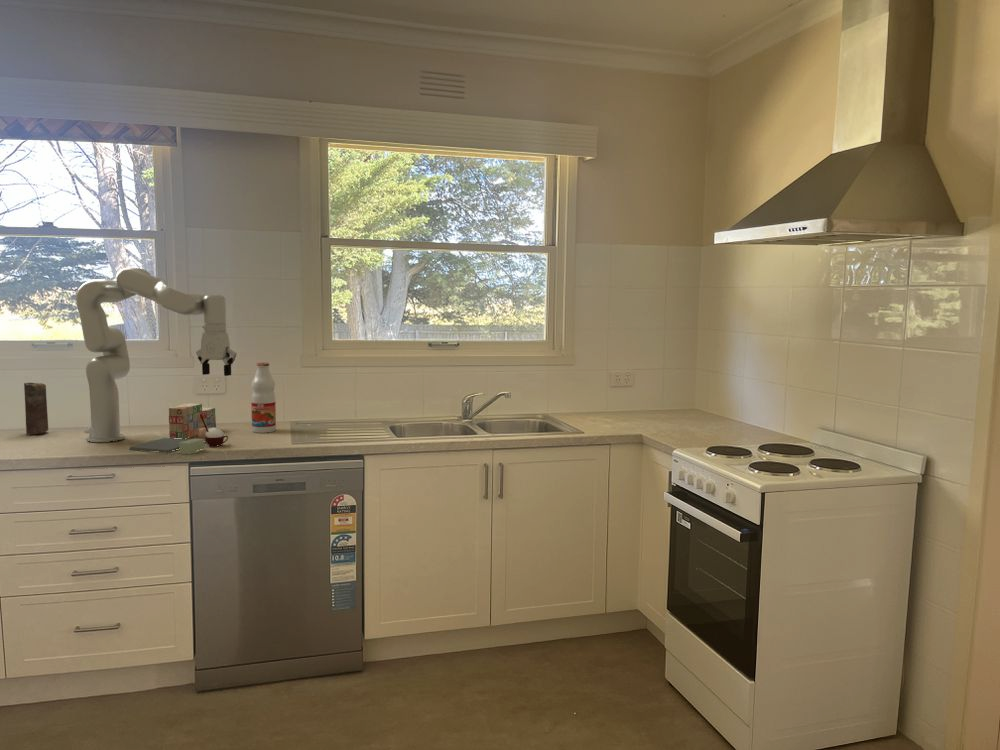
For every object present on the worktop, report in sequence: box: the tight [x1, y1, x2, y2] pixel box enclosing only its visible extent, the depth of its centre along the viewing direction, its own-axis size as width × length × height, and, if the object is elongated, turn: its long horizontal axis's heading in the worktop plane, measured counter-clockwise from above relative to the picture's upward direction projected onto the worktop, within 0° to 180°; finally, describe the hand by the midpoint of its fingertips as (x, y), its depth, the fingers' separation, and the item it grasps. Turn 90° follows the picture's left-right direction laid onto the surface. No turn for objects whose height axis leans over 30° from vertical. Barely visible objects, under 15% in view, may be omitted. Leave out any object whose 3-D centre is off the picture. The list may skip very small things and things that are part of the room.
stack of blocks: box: [168, 402, 217, 439], centre depth 289 cm, size 21×6×12 cm, turn 169°
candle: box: [23, 382, 49, 436], centre depth 284 cm, size 8×7×20 cm
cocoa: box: [200, 414, 229, 447], centre depth 268 cm, size 10×6×12 cm, turn 97°
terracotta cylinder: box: [198, 427, 212, 441], centre depth 277 cm, size 5×5×5 cm
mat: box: [128, 437, 188, 454], centre depth 266 cm, size 16×18×1 cm
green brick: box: [179, 437, 206, 455], centre depth 259 cm, size 4×8×4 cm, turn 163°
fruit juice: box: [250, 362, 277, 434], centre depth 297 cm, size 9×9×28 cm
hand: (216, 374), depth 271 cm, fingers open, 9 cm apart
